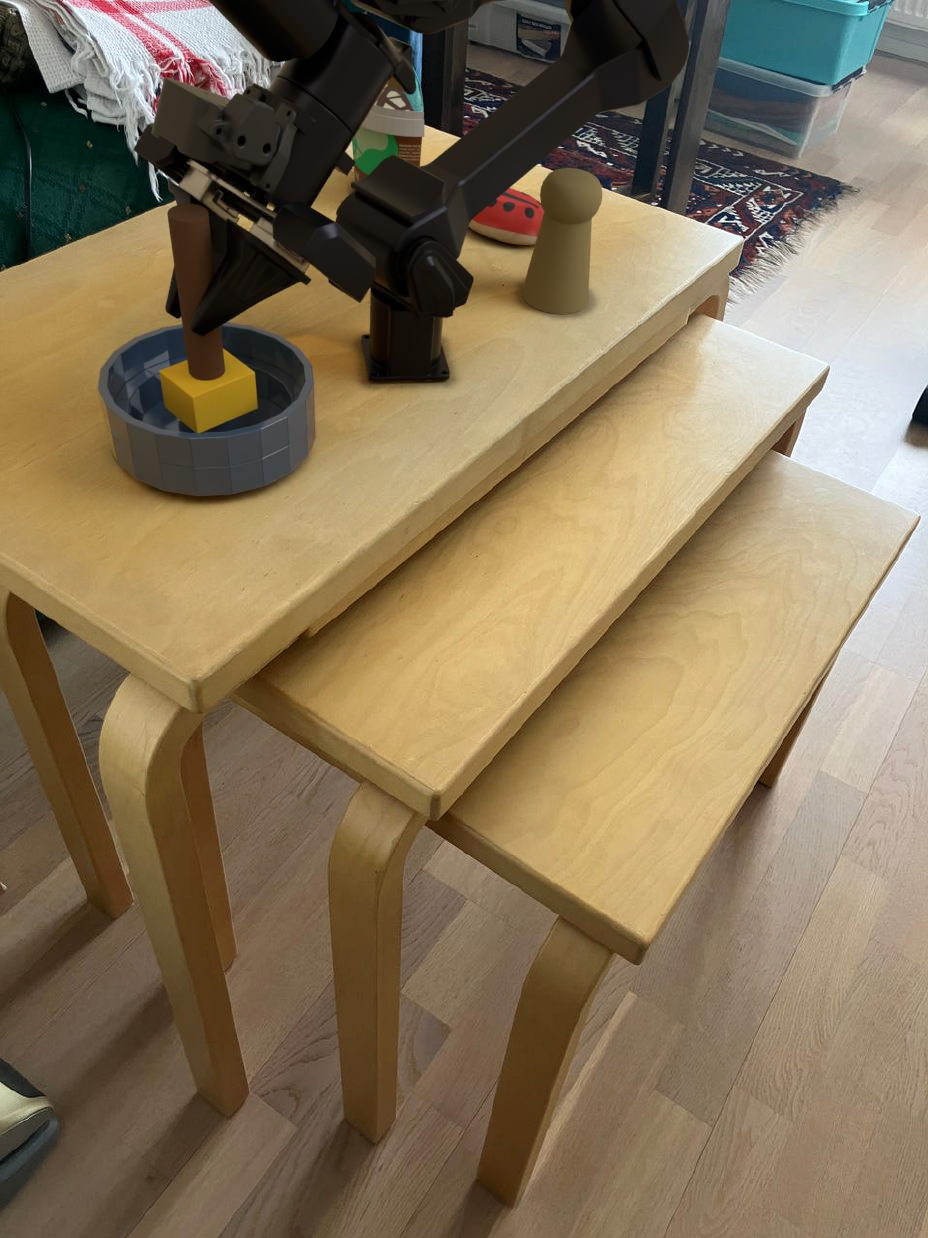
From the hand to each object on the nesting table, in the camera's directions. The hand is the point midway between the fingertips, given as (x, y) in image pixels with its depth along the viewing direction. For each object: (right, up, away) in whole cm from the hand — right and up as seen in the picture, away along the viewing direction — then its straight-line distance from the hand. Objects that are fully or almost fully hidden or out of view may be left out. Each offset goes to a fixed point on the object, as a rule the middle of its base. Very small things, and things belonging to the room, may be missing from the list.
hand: (183, 323), depth 65 cm
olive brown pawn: (+26, +10, +27) cm, 39 cm away
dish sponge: (0, -4, +6) cm, 7 cm away
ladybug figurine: (+22, +19, +35) cm, 46 cm away
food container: (+9, +24, +38) cm, 46 cm away
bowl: (0, -6, +8) cm, 10 cm away
